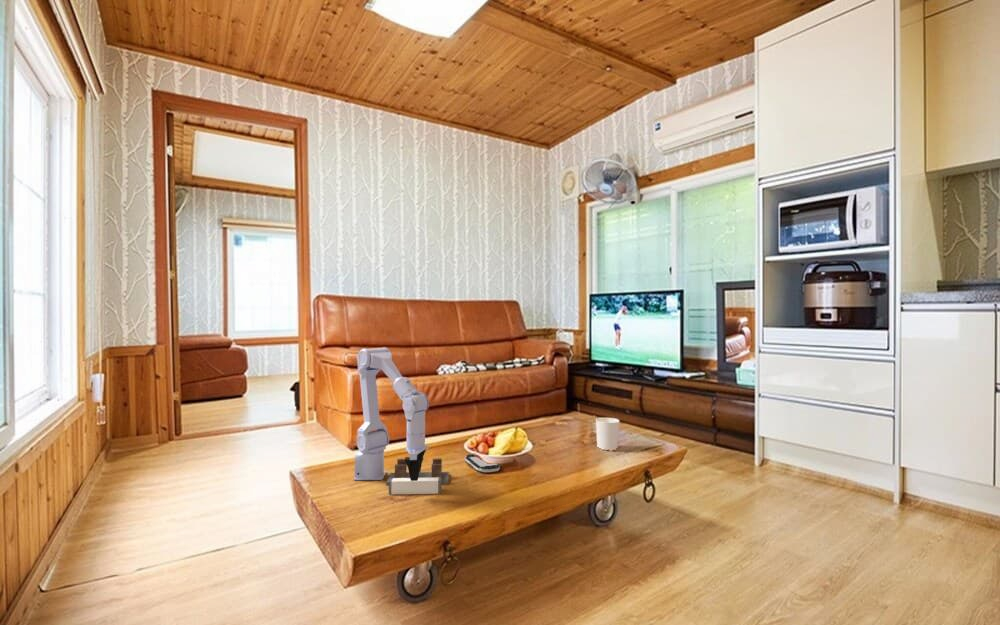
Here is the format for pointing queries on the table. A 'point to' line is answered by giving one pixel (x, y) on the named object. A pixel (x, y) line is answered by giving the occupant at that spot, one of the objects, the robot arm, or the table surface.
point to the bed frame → (436, 472)
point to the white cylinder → (607, 433)
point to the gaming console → (481, 465)
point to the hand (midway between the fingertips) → (415, 476)
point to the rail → (415, 486)
